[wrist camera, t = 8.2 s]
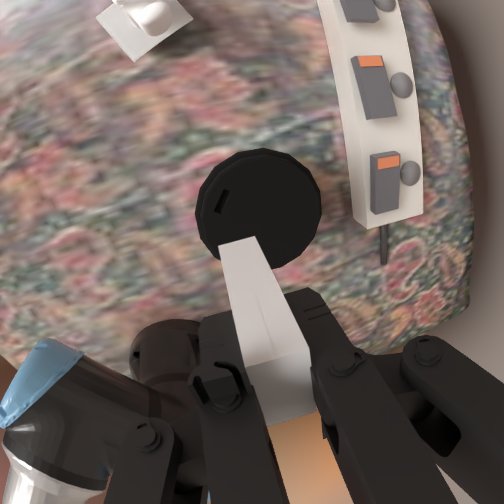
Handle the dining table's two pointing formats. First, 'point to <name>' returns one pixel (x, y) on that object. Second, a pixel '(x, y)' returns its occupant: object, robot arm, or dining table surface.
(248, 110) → the dining table surface
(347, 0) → the grey flat rectangular block
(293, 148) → the dining table surface
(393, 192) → the rocker
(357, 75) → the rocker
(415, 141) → the power strip
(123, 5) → the figurine
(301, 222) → the coffee cup
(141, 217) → the dining table surface
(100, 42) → the dining table surface
